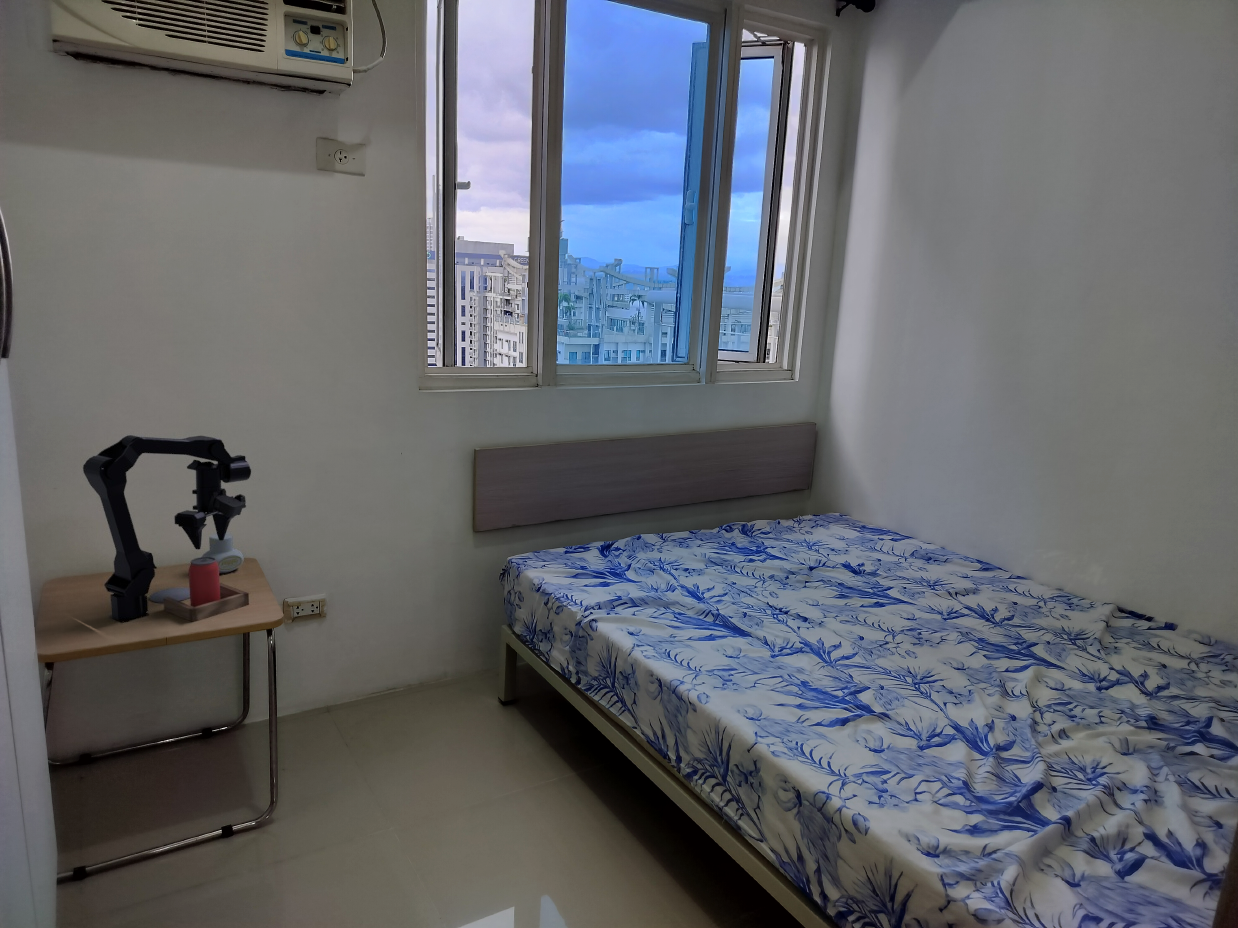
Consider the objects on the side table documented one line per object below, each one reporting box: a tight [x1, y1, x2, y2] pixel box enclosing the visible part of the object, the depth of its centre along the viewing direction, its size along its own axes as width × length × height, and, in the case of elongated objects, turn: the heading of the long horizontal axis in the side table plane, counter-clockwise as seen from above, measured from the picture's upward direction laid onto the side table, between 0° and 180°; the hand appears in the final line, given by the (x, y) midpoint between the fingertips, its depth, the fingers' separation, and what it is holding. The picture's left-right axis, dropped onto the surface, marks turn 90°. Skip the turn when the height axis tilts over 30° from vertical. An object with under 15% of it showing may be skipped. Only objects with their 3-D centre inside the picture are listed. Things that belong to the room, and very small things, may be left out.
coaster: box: [149, 587, 190, 604], centre depth 200 cm, size 10×10×1 cm
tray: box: [163, 582, 250, 623], centre depth 194 cm, size 14×12×3 cm
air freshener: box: [201, 532, 245, 574], centre depth 220 cm, size 11×8×10 cm
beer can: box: [188, 556, 221, 607], centre depth 194 cm, size 7×7×12 cm
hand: (209, 544), depth 203 cm, fingers open, 9 cm apart
